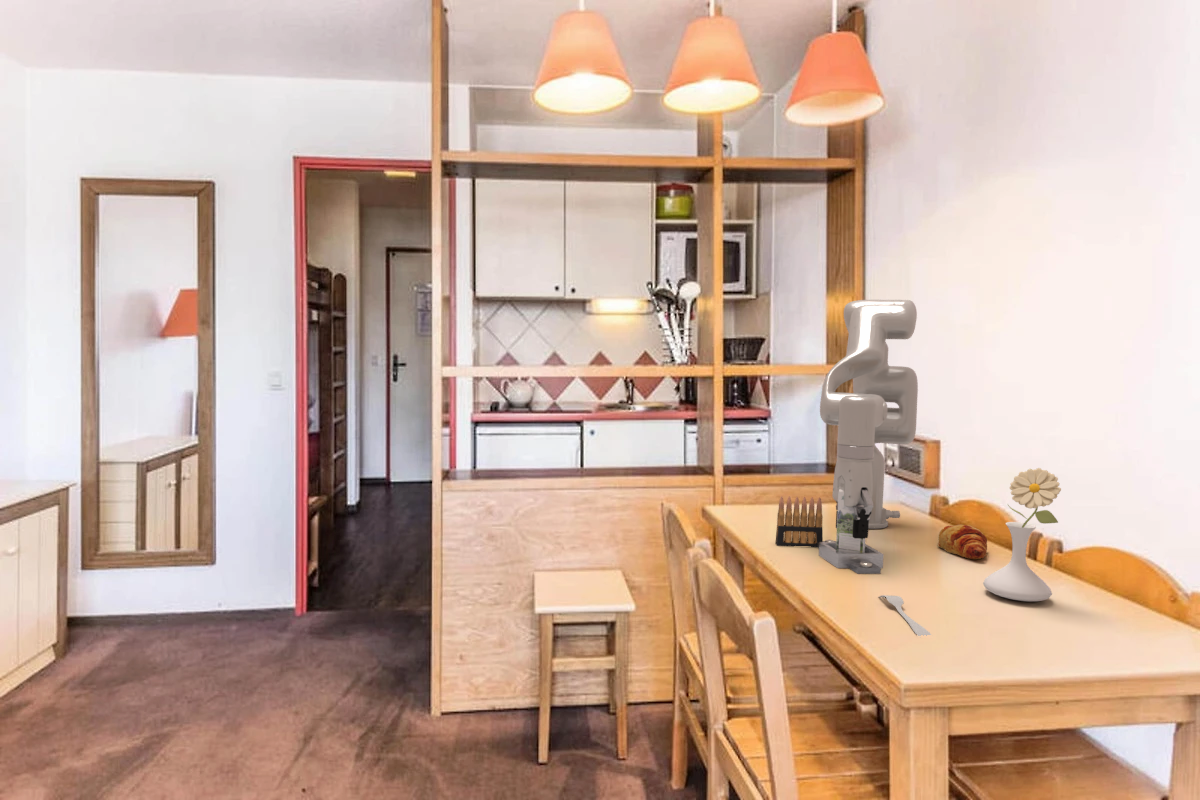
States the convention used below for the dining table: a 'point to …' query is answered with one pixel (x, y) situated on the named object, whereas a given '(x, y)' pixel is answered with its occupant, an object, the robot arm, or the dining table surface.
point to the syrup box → (847, 528)
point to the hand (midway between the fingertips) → (851, 532)
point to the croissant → (963, 541)
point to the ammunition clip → (799, 524)
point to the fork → (898, 602)
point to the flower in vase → (1025, 538)
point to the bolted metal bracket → (852, 558)
